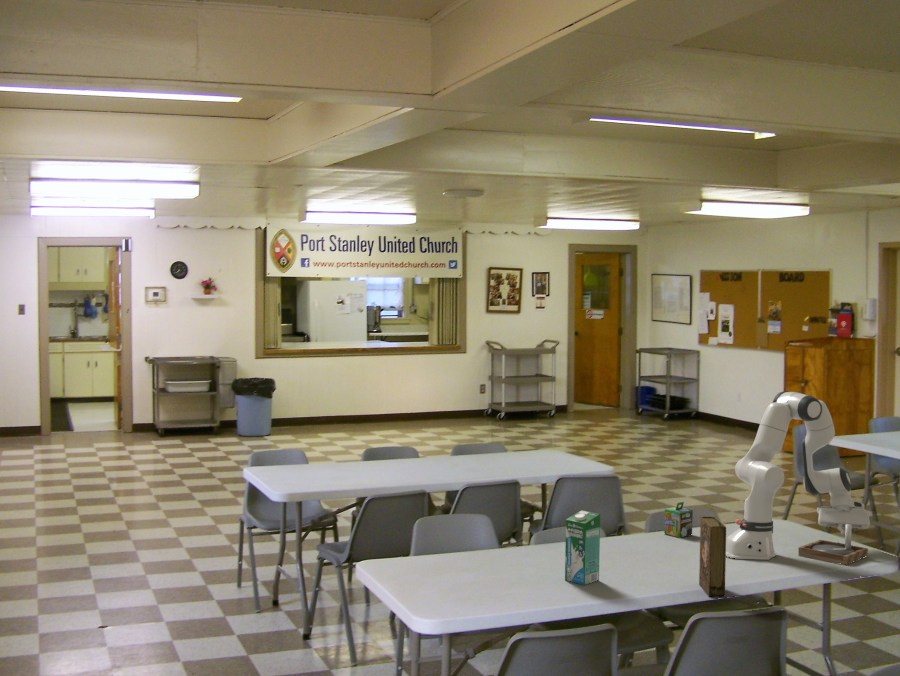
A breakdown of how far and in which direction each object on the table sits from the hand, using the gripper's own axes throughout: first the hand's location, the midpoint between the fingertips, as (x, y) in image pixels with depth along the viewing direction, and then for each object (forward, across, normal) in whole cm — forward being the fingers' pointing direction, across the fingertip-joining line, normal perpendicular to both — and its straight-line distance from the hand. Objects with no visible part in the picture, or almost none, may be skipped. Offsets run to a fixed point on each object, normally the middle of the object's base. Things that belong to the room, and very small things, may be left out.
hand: (845, 534), depth 410 cm
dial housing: (+11, -6, -1) cm, 13 cm away
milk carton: (+55, -104, -44) cm, 126 cm away
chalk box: (-4, -68, +15) cm, 70 cm away
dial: (+10, -6, -2) cm, 12 cm away
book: (+56, -57, -45) cm, 92 cm away
